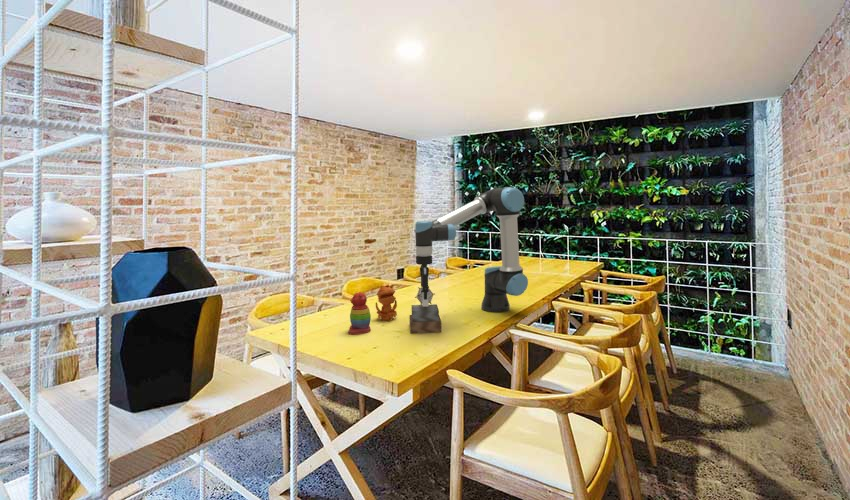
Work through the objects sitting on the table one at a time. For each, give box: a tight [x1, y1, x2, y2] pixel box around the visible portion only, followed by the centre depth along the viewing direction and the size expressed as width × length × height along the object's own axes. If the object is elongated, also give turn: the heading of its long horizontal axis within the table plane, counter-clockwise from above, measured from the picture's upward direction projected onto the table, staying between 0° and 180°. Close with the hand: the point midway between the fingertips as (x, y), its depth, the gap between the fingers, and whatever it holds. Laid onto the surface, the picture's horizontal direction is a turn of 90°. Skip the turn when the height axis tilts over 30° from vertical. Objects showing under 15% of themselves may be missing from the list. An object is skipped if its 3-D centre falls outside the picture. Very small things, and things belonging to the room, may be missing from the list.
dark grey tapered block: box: [409, 303, 442, 334], centre depth 201 cm, size 14×13×10 cm
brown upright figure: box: [375, 284, 398, 322], centre depth 217 cm, size 11×11×18 cm
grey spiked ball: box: [414, 285, 436, 305], centre depth 200 cm, size 9×8×10 cm
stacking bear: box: [347, 291, 372, 336], centre depth 199 cm, size 11×10×18 cm
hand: (424, 303), depth 200 cm, fingers closed on grey spiked ball, 9 cm apart
